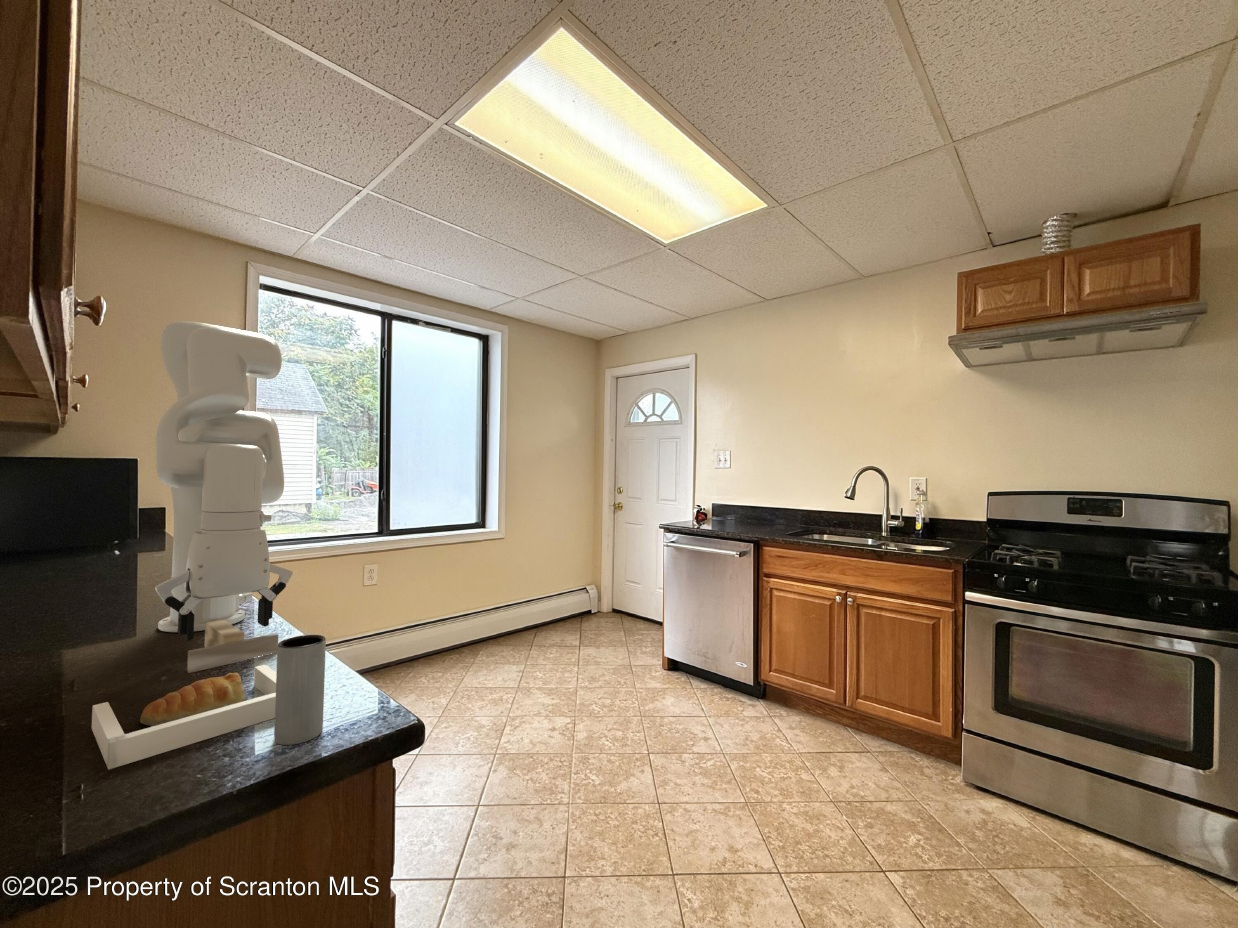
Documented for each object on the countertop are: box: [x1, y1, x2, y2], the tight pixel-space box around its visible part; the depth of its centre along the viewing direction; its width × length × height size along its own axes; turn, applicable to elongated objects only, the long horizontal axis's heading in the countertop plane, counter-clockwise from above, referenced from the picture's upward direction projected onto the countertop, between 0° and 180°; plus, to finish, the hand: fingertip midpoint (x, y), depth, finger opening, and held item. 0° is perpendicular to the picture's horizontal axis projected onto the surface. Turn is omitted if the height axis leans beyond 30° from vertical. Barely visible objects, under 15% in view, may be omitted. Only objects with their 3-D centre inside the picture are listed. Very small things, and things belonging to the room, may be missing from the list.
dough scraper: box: [186, 619, 279, 674], centre depth 80 cm, size 12×11×4 cm
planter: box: [273, 634, 327, 746], centre depth 56 cm, size 4×4×10 cm
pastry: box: [139, 672, 247, 727], centre depth 60 cm, size 9×7×4 cm
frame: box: [91, 664, 277, 770], centre depth 59 cm, size 12×16×2 cm
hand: (227, 631), depth 79 cm, fingers open, 9 cm apart
